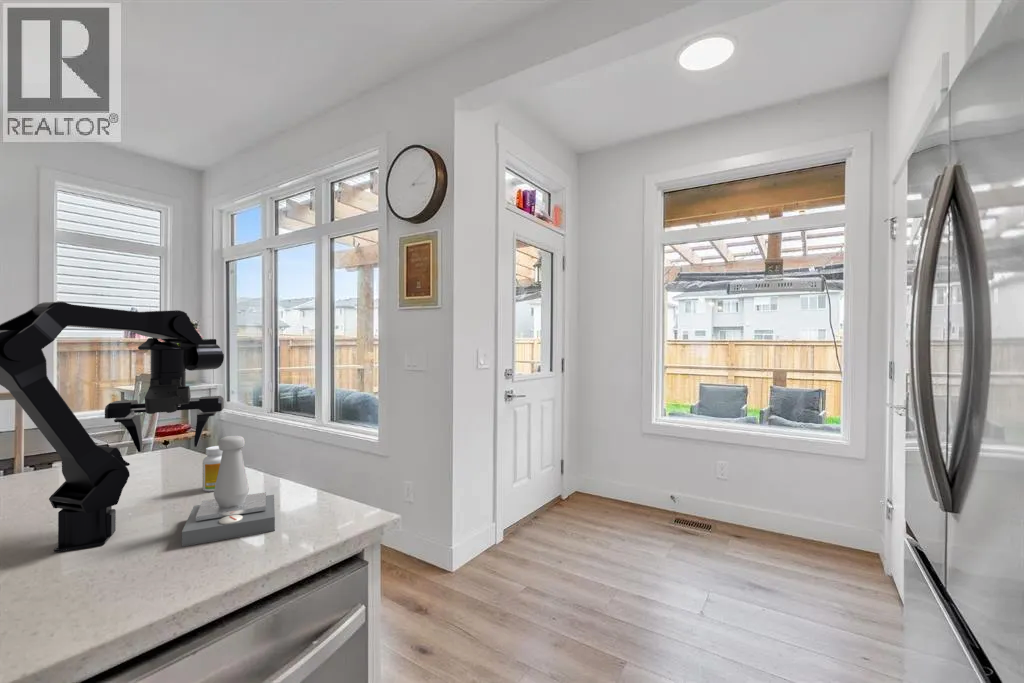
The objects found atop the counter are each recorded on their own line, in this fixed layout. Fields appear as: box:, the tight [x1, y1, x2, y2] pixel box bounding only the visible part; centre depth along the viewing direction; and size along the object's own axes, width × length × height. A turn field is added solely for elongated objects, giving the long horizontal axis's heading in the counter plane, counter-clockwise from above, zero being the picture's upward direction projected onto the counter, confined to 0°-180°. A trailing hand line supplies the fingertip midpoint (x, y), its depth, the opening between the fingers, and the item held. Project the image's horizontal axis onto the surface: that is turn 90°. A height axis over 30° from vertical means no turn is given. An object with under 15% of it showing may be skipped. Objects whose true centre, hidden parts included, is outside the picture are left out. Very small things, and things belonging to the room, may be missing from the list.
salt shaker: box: [213, 435, 250, 508], centre depth 88 cm, size 6×6×13 cm
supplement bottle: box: [202, 445, 223, 492], centre depth 108 cm, size 5×5×10 cm
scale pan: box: [196, 492, 267, 521], centre depth 88 cm, size 11×9×1 cm
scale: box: [181, 494, 276, 547], centre depth 87 cm, size 14×14×3 cm
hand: (168, 448), depth 93 cm, fingers open, 9 cm apart
